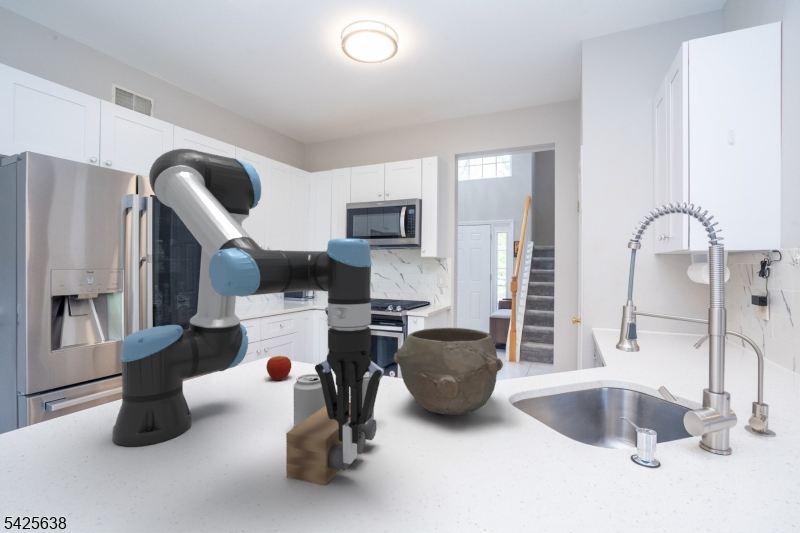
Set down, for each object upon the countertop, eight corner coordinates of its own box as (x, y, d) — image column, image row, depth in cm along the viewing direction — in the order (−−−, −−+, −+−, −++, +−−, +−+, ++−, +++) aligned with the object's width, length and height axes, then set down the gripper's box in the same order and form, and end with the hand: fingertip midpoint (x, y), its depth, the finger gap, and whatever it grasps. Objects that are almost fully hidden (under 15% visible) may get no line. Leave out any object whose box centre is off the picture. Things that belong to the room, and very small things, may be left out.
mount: (286, 477, 69) (286, 432, 69) (332, 436, 85) (332, 400, 85) (325, 485, 66) (325, 439, 66) (365, 441, 82) (365, 404, 82)
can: (318, 436, 85) (318, 383, 84) (287, 433, 86) (287, 380, 86) (331, 422, 92) (331, 373, 92) (302, 420, 93) (302, 371, 93)
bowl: (379, 399, 108) (379, 328, 107) (465, 386, 119) (465, 322, 119) (422, 440, 83) (422, 348, 82) (526, 419, 94) (526, 338, 94)
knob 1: (287, 464, 69) (287, 442, 69) (300, 454, 73) (300, 433, 73) (341, 475, 66) (341, 452, 66) (351, 463, 70) (351, 441, 69)
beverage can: (363, 418, 95) (363, 370, 94) (378, 423, 91) (378, 373, 91) (349, 424, 91) (349, 374, 91) (363, 430, 88) (363, 378, 88)
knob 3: (321, 435, 81) (321, 417, 81) (331, 428, 84) (331, 410, 84) (368, 443, 77) (368, 424, 77) (376, 435, 81) (376, 416, 81)
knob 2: (306, 449, 75) (306, 428, 75) (317, 440, 79) (317, 420, 79) (356, 458, 71) (356, 437, 71) (365, 448, 75) (365, 428, 75)
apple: (296, 377, 127) (296, 354, 127) (277, 384, 121) (277, 359, 121) (280, 374, 132) (280, 351, 131) (261, 380, 125) (261, 356, 125)
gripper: (305, 328, 66) (306, 464, 66) (375, 332, 61) (375, 477, 62) (327, 321, 73) (328, 444, 73) (391, 325, 69) (391, 455, 69)
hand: (350, 459), depth 67 cm, fingers closed
